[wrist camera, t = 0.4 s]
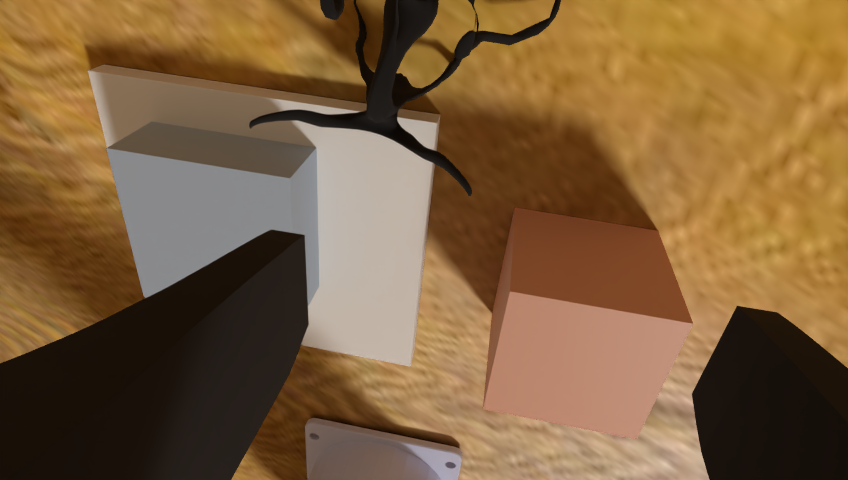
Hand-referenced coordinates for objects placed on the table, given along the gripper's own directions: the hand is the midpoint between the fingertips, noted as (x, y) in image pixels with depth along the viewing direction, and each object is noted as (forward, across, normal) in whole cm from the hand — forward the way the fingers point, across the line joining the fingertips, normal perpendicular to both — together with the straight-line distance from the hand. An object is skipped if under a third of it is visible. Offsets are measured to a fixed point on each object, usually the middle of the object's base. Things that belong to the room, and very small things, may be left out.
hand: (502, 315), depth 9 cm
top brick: (+10, -3, +6) cm, 12 cm away
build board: (+10, +8, +6) cm, 14 cm away
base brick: (+9, +10, +5) cm, 14 cm away
